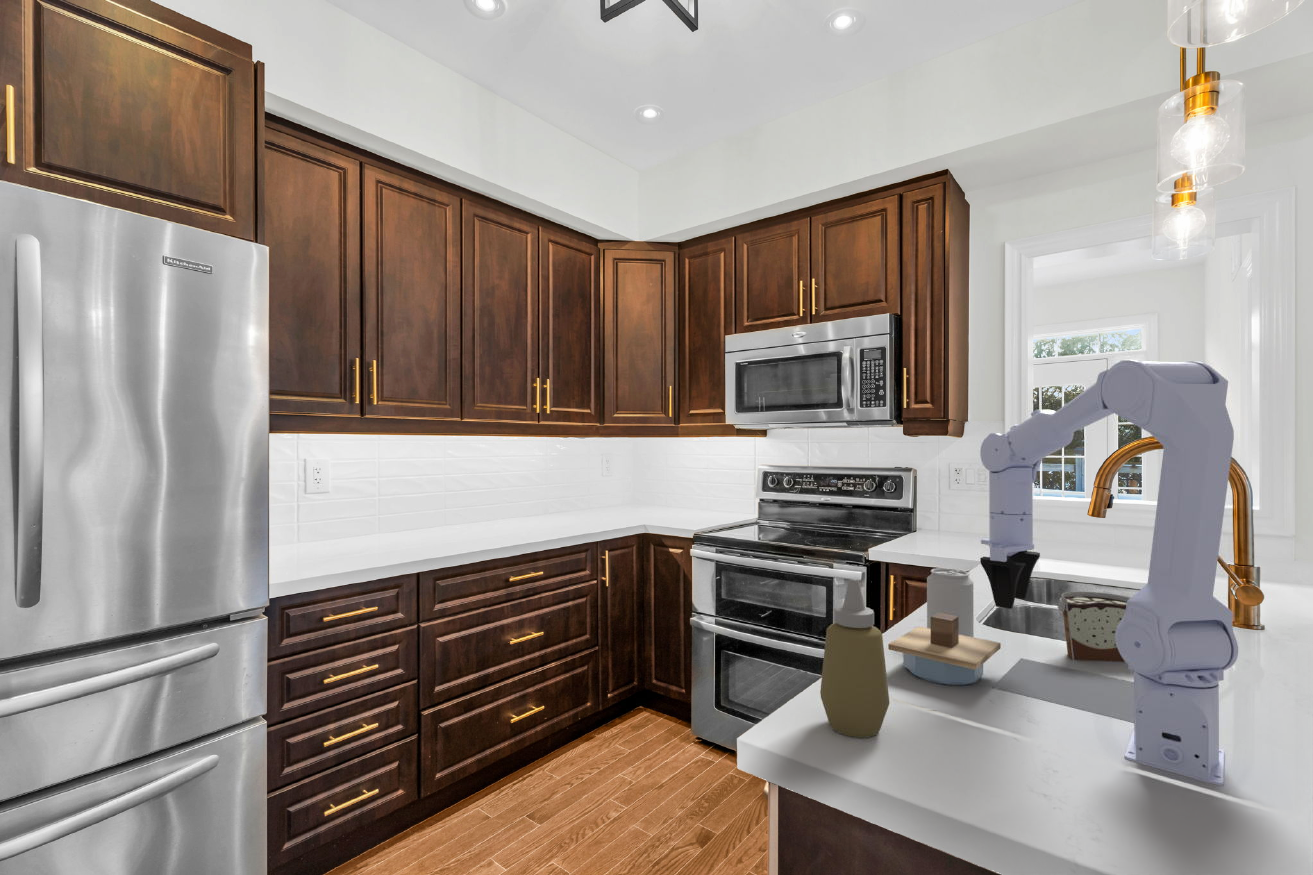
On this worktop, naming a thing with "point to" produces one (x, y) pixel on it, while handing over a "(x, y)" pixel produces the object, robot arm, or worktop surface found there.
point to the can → (951, 597)
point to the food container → (1092, 624)
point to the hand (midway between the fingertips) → (1010, 602)
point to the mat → (1071, 688)
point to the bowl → (941, 671)
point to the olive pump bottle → (854, 669)
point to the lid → (945, 643)
